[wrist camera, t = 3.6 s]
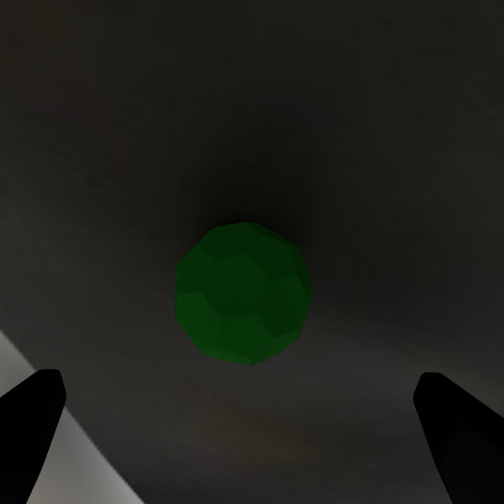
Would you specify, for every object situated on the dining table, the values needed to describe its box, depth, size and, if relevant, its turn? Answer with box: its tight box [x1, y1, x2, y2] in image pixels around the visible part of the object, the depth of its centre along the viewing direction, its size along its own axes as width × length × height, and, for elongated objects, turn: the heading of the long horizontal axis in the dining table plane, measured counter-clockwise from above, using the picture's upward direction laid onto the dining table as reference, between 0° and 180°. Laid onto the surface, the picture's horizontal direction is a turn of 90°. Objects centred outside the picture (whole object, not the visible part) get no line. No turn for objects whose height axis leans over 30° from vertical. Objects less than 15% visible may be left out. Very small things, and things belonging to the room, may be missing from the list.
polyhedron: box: [175, 222, 314, 365], centre depth 12 cm, size 5×5×5 cm
